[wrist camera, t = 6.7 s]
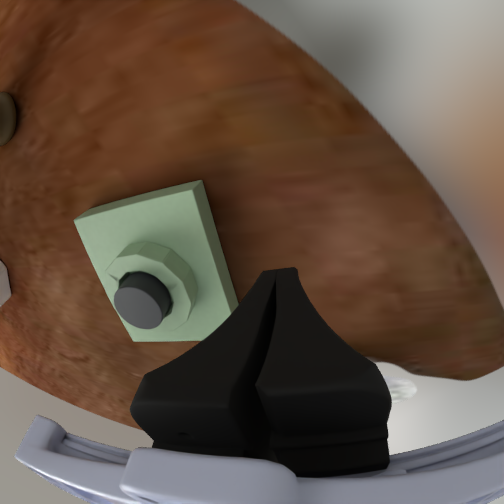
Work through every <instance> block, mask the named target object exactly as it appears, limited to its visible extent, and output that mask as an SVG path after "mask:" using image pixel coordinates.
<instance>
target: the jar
mask: <svg viewBox="0 0 504 504" xmlns="http://www.w3.org/2000/svg"><path fill="white" fill-rule="evenodd" d="M10 297H11V290H10V285H9V279H8V273H7V268H6V267H5V265H4V264H3V263H2V261H1V260H0V307H1V306H2V305H3V304H4V303H5V302H6V301H7V300H8V299H9V298H10Z"/></svg>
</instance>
